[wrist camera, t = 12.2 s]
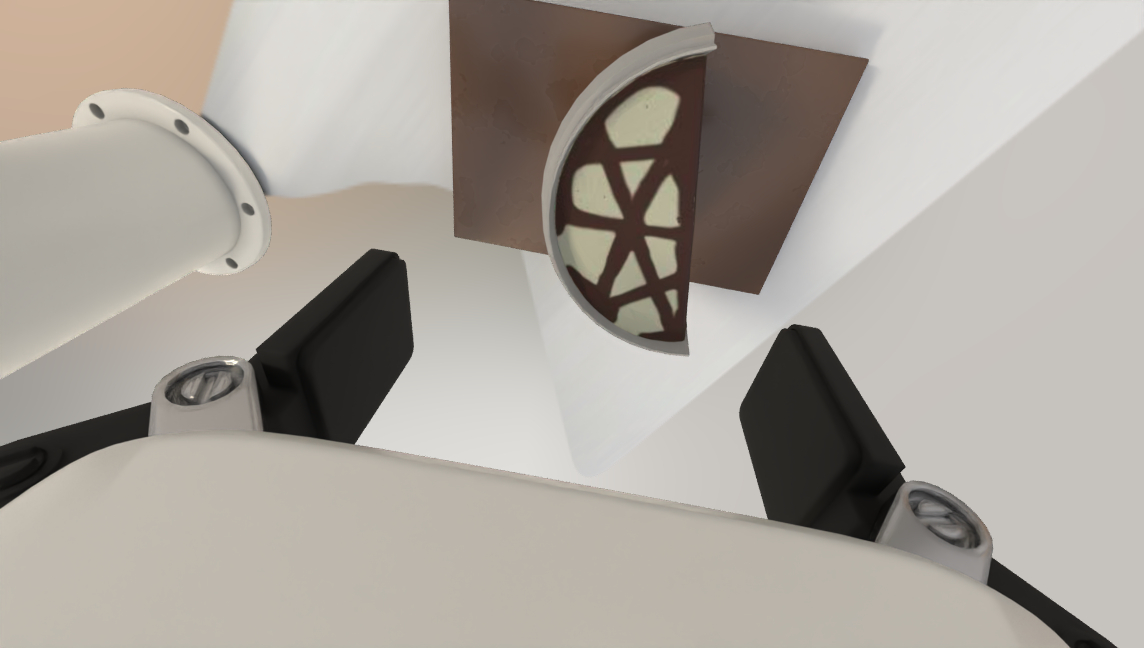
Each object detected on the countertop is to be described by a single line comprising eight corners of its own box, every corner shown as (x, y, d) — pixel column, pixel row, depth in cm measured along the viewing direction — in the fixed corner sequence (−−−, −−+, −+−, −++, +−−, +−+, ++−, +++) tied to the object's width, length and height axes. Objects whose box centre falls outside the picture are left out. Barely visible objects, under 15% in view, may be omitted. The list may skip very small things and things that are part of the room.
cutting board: (461, 228, 29) (454, 237, 28) (459, -13, 22) (448, -15, 20) (754, 283, 29) (759, 295, 27) (857, 56, 21) (870, 59, 20)
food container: (558, 35, 21) (503, 43, 13) (688, 21, 20) (719, 21, 12) (577, 263, 28) (550, 362, 20) (675, 262, 27) (688, 366, 19)
